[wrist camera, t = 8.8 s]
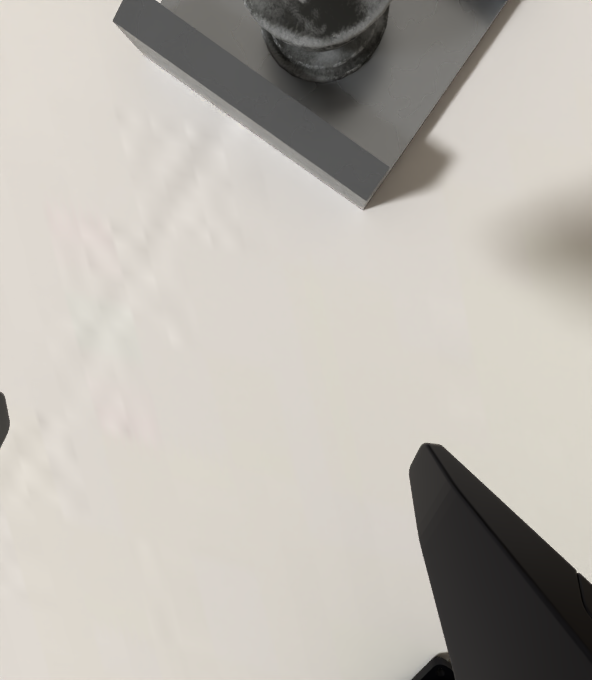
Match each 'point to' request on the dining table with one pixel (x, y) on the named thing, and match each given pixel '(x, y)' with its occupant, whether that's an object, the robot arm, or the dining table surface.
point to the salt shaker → (320, 34)
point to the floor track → (313, 97)
